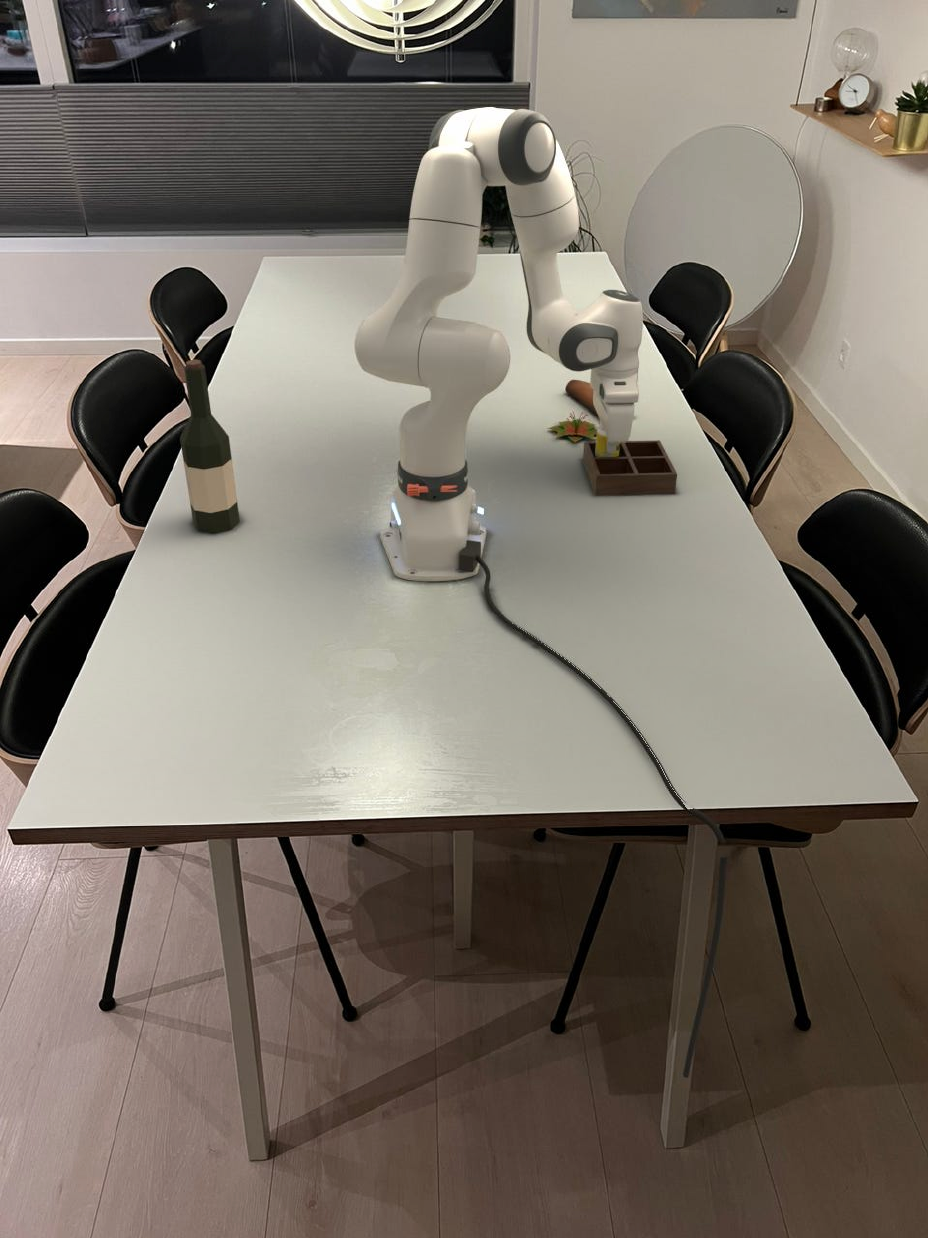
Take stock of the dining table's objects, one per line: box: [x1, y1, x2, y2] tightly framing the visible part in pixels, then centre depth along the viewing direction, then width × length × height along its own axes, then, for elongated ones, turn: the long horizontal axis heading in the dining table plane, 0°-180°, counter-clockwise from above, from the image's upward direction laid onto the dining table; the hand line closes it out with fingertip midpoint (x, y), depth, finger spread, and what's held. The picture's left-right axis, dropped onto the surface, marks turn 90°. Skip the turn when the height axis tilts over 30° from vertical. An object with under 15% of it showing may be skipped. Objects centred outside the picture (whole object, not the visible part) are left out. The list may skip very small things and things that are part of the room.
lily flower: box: [546, 411, 598, 444], centre depth 221 cm, size 12×12×5 cm
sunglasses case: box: [564, 379, 598, 416], centre depth 234 cm, size 18×7×7 cm, turn 23°
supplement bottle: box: [595, 419, 620, 457], centre depth 205 cm, size 5×5×8 cm
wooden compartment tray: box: [582, 439, 678, 496], centre depth 205 cm, size 15×15×4 cm
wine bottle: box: [179, 359, 241, 535], centre depth 181 cm, size 8×8×30 cm
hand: (607, 445), depth 206 cm, fingers closed on supplement bottle, 5 cm apart
